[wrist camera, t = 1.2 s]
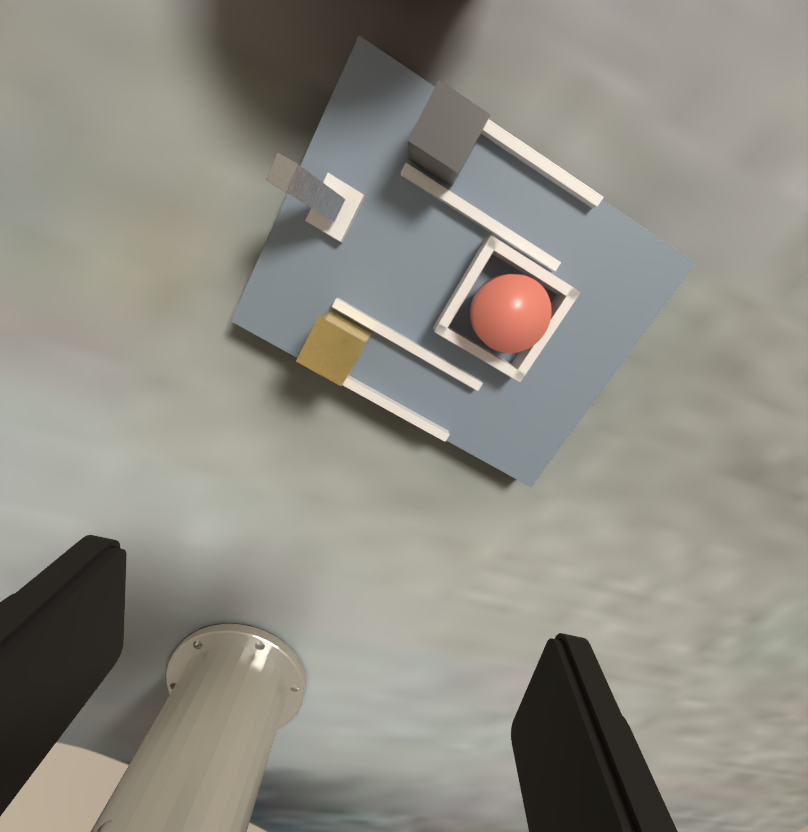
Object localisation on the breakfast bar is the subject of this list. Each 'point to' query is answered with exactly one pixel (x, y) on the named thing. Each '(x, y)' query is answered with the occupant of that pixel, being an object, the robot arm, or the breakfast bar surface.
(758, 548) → the breakfast bar surface
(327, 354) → the slider brass
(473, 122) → the slider gray
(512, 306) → the button
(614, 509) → the breakfast bar surface
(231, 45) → the breakfast bar surface
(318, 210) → the toggle
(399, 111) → the panel
